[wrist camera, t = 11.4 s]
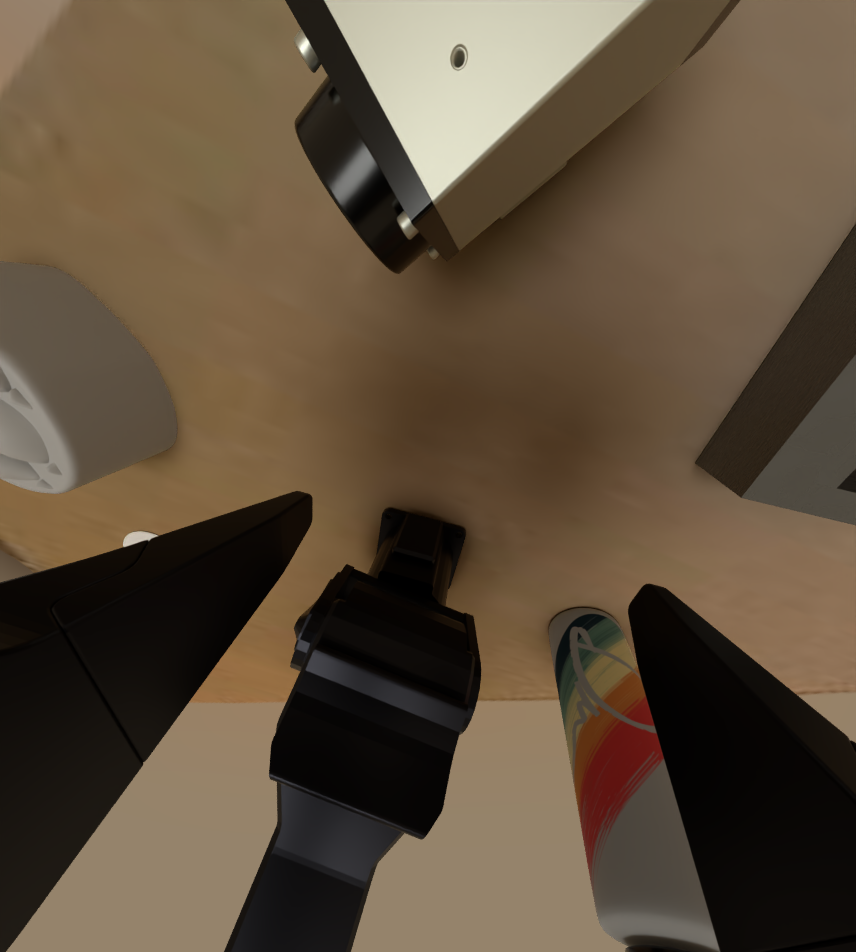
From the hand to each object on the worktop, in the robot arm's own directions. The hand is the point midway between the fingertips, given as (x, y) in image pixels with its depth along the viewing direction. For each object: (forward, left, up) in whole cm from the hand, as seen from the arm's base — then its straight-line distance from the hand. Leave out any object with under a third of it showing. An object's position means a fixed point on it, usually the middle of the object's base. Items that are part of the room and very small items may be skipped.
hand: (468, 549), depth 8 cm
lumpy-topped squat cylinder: (-4, +28, -13) cm, 31 cm away
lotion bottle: (-16, -13, -13) cm, 24 cm away
